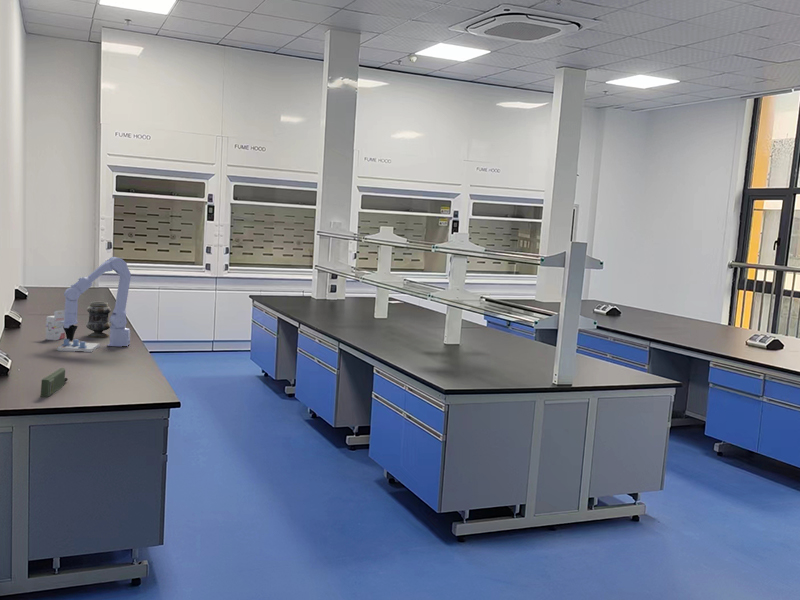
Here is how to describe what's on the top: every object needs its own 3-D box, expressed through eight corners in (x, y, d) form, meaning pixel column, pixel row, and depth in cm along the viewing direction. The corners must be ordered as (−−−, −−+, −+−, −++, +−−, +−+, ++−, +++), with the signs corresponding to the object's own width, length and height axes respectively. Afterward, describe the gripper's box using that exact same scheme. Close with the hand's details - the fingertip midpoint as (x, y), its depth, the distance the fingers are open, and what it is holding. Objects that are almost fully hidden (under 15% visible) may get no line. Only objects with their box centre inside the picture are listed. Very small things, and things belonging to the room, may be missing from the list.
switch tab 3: (86, 347, 343) (87, 341, 343) (85, 348, 341) (85, 342, 340) (79, 347, 343) (80, 341, 342) (78, 348, 340) (78, 342, 340)
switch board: (99, 346, 356) (99, 343, 356) (91, 352, 341) (91, 348, 340) (67, 345, 354) (67, 341, 354) (57, 350, 338) (57, 347, 338)
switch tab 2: (80, 345, 347) (80, 339, 347) (78, 346, 345) (78, 340, 344) (73, 344, 347) (73, 339, 347) (71, 345, 344) (71, 339, 344)
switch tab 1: (70, 344, 347) (71, 338, 346) (69, 345, 344) (69, 339, 344) (63, 344, 346) (63, 338, 346) (62, 345, 343) (62, 339, 343)
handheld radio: (38, 397, 254) (61, 382, 279) (48, 398, 255) (70, 383, 279) (40, 379, 254) (62, 365, 278) (50, 379, 254) (71, 366, 279)
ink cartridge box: (56, 337, 372) (57, 308, 371) (64, 338, 371) (65, 309, 370) (45, 339, 364) (46, 310, 363) (53, 340, 363) (54, 311, 362)
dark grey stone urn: (109, 334, 394) (110, 301, 393) (110, 337, 384) (112, 304, 382) (85, 333, 389) (86, 300, 387) (86, 337, 378) (87, 303, 377)
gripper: (66, 310, 356) (65, 337, 357) (57, 314, 342) (56, 342, 343) (81, 311, 357) (80, 338, 358) (73, 315, 343) (72, 343, 344)
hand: (69, 340), depth 351 cm, fingers closed
